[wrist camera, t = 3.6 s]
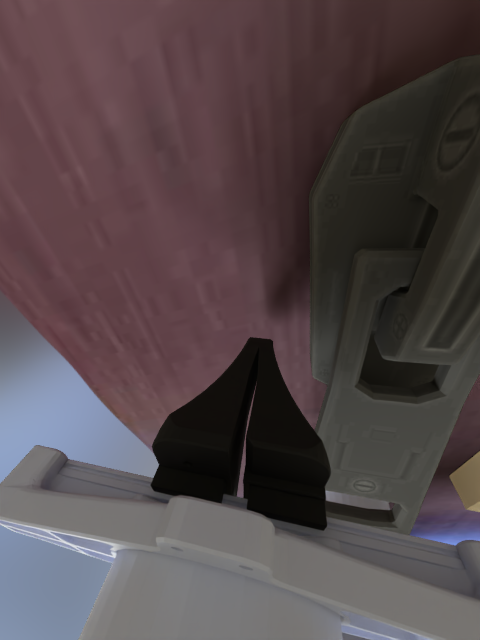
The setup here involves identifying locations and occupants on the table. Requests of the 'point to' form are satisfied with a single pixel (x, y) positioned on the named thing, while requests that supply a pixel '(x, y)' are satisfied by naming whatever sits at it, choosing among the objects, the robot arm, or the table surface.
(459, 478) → the cream rectangular bar
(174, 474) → the robot arm
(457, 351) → the zipper pull
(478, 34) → the table surface
